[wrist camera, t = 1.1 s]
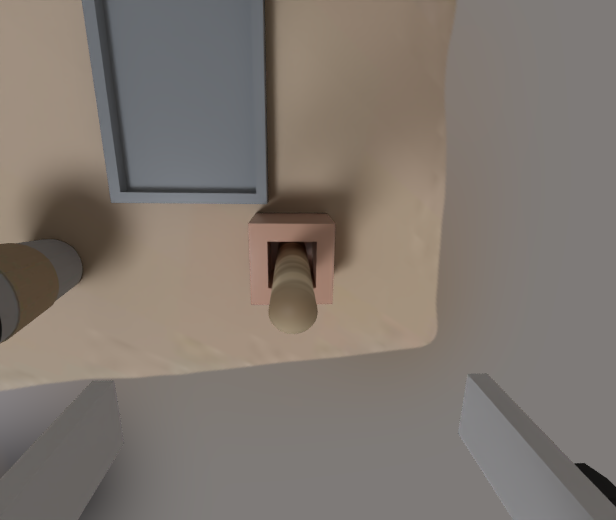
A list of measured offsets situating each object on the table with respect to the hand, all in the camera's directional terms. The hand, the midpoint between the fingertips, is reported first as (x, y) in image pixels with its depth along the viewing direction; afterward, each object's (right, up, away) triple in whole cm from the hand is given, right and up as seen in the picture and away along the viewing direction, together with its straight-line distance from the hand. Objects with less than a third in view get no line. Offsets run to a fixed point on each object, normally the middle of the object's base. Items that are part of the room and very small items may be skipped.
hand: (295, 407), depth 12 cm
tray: (-11, +22, +19) cm, 32 cm away
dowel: (-1, +7, +23) cm, 24 cm away
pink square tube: (-1, +7, +24) cm, 25 cm away
